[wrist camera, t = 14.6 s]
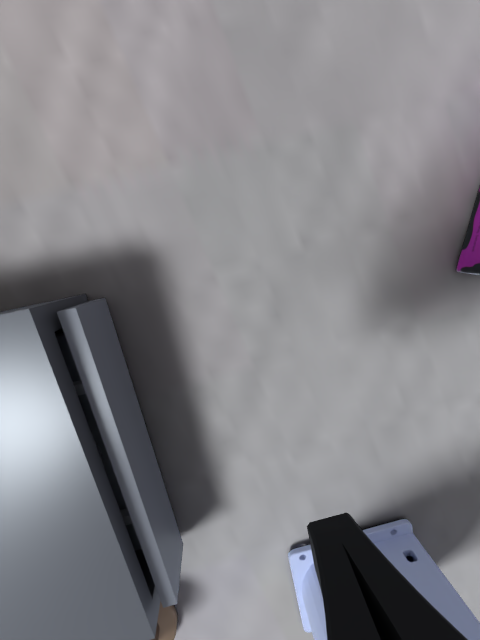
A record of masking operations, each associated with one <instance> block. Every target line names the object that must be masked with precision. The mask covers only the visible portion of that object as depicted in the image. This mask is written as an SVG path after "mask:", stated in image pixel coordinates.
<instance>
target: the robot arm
mask: <svg viewBox="0 0 480 640" xmlns="http://www.w3.org/2000/svg"><path fill="white" fill-rule="evenodd" d="M307 529H308V534H309V540H310V545H306V546H303V547H299V548H295V549H292V550H291V551H290V552H289V553H288V558H289V563H290V568H291V572H292V577H293V582H294V586H295V591H296V596H297V601H298V605H299V610H300V615H301V619H302V624H303V628H304V630H305V631H306V632H312V633H313V637H314V640H480V623H479V621H478V620H477V618H476V617H475V616H474V614H473V613H472V612H471V610H470V609H469V608H468V606H467V605H466V604H465V602H464V601H463V600H462V598H461V597H460V596H459V594H458V593H457V592H456V590H455V589H454V588H453V586H452V585H451V584H450V582H449V581H448V580H447V578H446V577H445V575H444V574H443V573H442V571H441V570H440V569H439V567H438V566H437V565H436V563H435V562H434V561H433V559H432V558H431V557H430V555H429V554H428V553H427V551H426V550H425V549H424V547H423V546H422V545H421V543H420V542H419V541H418V539H417V538H416V536H415V535H414V534H413V528H412V524H411V523H410V522H409V520H407V519H401V520H398V521H394V522H390V523H387V524H383V525H379V526H376V527H372V528H368V529H365V530H362V529H361V528H360V527H359V526H358V524H357V523H356V522H355V521H354V519H353V518H352V517H351V516H350V515H349V514H348V513H344V514H340V515H336V516H332V517H329V518H325V519H321V520H318V521H314V522H310V523H309V524H308V526H307Z"/></svg>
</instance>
